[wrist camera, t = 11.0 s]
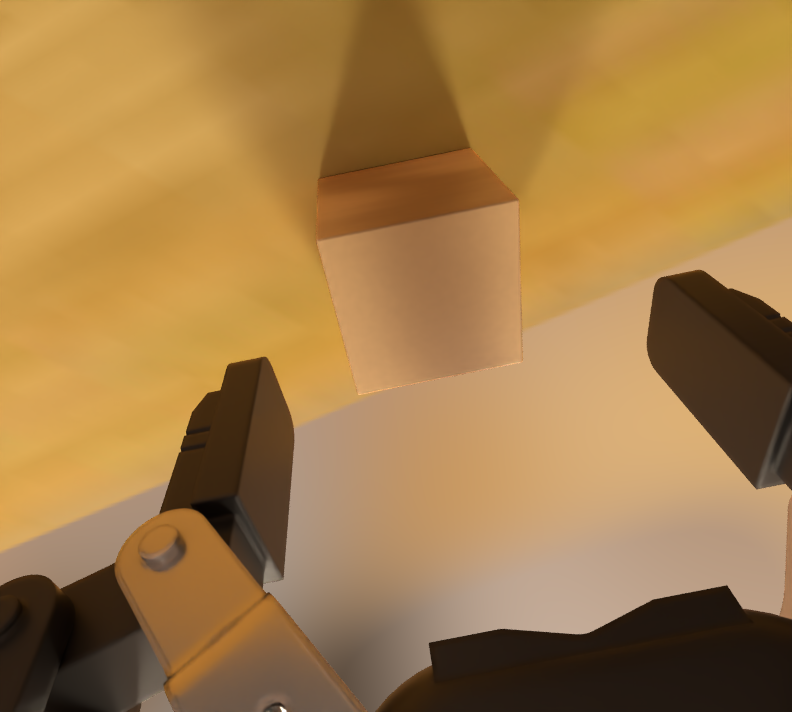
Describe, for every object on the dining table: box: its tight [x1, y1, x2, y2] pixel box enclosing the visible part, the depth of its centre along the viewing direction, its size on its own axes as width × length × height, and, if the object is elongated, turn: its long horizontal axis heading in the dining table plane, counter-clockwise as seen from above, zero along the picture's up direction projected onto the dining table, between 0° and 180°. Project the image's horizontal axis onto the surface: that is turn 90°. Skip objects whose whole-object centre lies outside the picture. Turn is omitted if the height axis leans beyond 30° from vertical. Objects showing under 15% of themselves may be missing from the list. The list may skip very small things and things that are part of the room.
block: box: [316, 148, 523, 395], centre depth 15 cm, size 5×5×5 cm
